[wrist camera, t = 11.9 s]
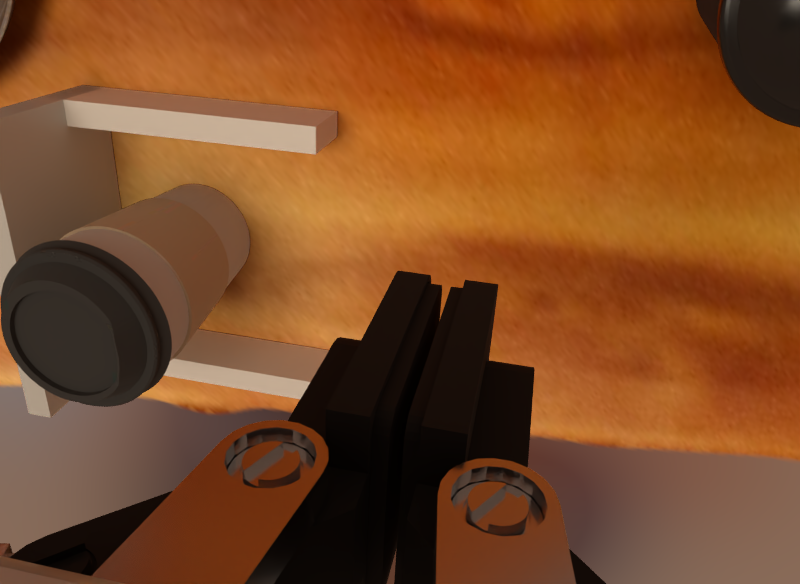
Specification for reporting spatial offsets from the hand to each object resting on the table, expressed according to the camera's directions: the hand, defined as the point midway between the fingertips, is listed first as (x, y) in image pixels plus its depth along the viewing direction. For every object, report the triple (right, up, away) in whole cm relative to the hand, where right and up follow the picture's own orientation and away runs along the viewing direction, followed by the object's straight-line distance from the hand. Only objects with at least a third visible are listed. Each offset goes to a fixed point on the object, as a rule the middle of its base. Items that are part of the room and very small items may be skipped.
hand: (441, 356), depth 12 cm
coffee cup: (-14, +5, +34) cm, 37 cm away
